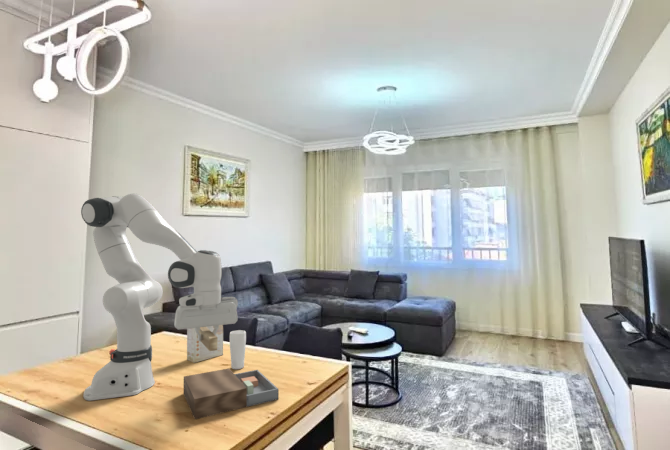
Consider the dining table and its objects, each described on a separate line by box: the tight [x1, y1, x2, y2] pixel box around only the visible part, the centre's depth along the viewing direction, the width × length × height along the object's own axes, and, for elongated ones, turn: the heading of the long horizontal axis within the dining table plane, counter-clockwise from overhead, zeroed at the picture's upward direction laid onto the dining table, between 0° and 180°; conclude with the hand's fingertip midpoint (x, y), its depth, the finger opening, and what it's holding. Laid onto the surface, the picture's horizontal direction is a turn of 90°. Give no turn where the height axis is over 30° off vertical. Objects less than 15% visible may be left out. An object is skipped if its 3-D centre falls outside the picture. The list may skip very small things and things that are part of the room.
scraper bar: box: [197, 327, 218, 351], centre depth 125 cm, size 2×20×4 cm, turn 31°
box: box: [234, 369, 280, 408], centre depth 132 cm, size 11×22×4 cm, turn 30°
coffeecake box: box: [186, 325, 224, 364], centre depth 172 cm, size 15×7×20 cm, turn 141°
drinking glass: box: [229, 329, 247, 370], centre depth 157 cm, size 7×7×15 cm
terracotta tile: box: [241, 376, 258, 387], centre depth 136 cm, size 5×5×2 cm
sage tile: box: [243, 380, 253, 395], centre depth 125 cm, size 5×5×2 cm
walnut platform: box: [183, 368, 248, 420], centre depth 125 cm, size 16×22×6 cm
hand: (206, 339), depth 125 cm, fingers closed on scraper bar, 2 cm apart
